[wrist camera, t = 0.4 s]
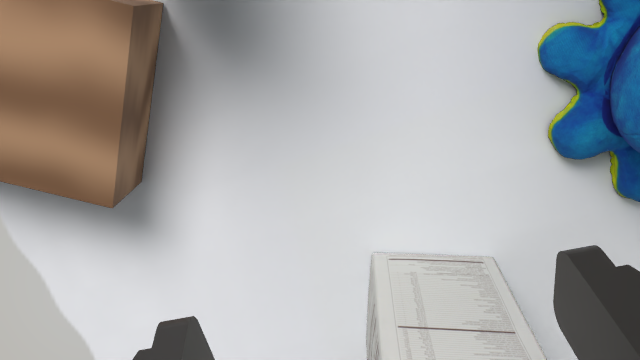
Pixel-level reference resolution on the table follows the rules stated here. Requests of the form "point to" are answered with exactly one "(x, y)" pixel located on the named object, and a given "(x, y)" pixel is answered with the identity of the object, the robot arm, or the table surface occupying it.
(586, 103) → the plush toy
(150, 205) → the table surface
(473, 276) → the supplement box
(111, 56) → the podium
